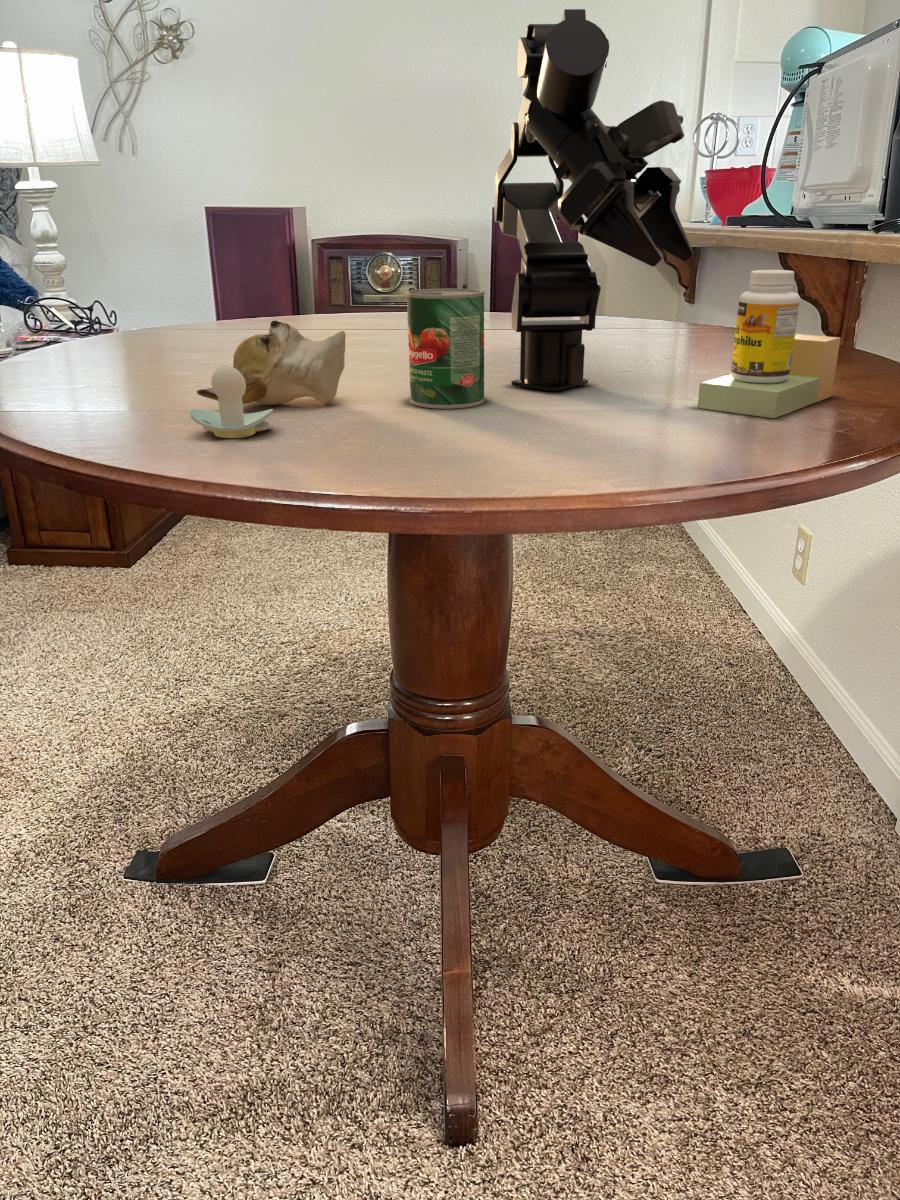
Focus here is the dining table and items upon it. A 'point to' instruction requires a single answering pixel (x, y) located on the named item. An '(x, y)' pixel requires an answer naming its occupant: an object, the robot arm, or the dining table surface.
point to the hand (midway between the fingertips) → (674, 260)
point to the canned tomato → (446, 347)
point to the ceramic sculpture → (287, 366)
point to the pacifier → (230, 408)
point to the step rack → (772, 400)
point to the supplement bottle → (765, 328)
